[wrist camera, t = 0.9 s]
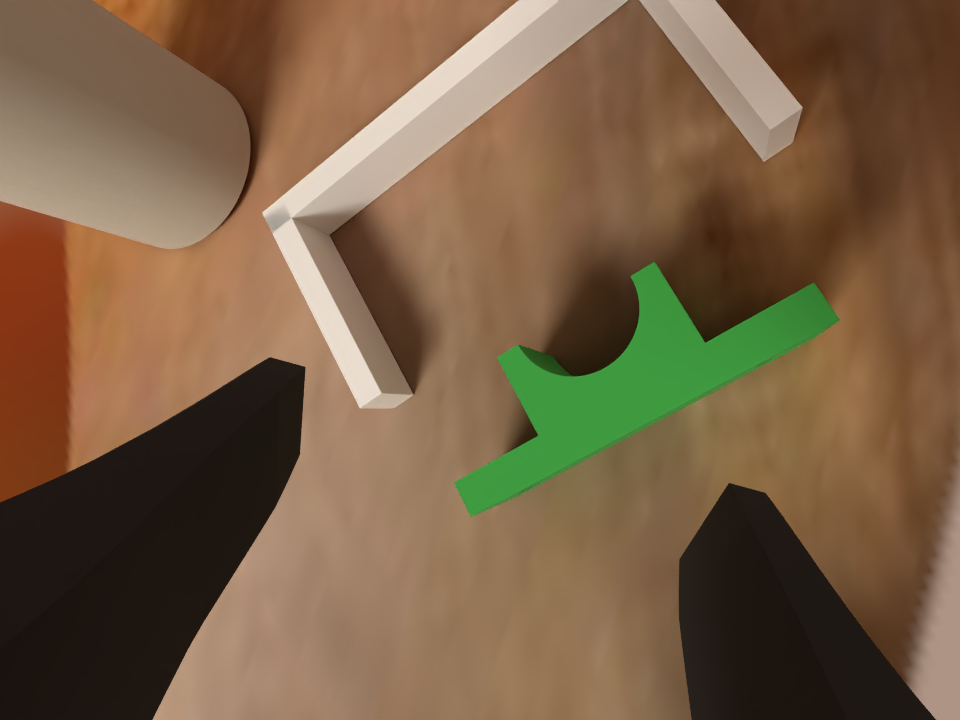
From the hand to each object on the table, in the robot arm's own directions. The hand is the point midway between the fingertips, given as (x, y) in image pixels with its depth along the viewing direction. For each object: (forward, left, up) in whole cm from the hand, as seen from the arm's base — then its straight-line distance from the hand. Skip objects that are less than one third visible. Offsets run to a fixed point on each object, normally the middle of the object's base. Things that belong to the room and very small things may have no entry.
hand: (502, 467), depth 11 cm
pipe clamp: (+1, -2, -12) cm, 12 cm away
